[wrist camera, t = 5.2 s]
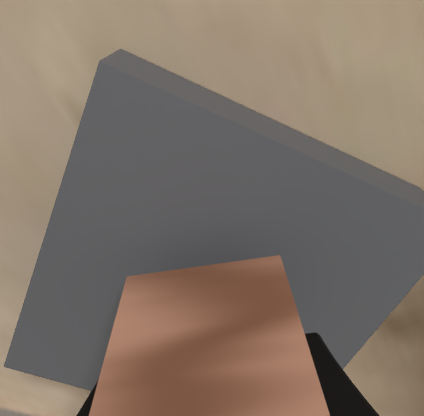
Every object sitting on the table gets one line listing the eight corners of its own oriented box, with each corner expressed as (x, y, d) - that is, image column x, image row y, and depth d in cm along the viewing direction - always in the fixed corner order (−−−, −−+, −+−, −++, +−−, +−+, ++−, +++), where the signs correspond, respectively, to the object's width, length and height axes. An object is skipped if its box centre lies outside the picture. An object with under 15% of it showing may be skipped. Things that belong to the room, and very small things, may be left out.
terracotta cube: (280, 254, 11) (329, 415, 7) (290, 364, 14) (333, 542, 9) (126, 276, 12) (80, 444, 7) (159, 381, 14) (139, 562, 9)
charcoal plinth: (418, 187, 15) (464, 226, 13) (270, 384, 20) (280, 442, 18) (120, 48, 13) (99, 61, 10) (33, 311, 18) (3, 366, 15)
